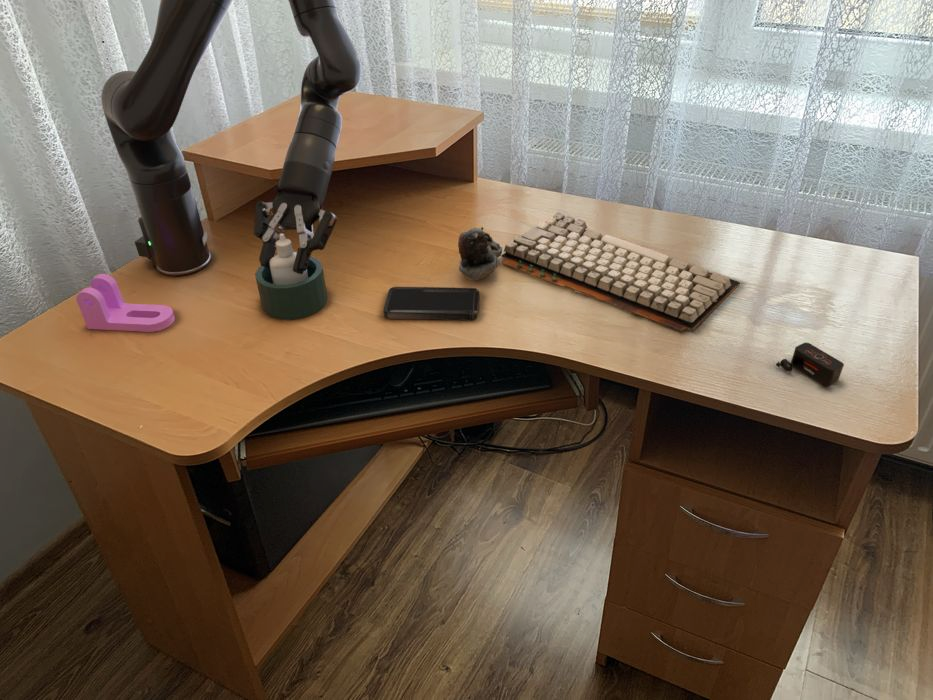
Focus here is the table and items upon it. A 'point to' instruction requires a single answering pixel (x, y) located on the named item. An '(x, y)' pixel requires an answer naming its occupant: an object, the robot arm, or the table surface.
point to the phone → (432, 303)
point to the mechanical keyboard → (618, 272)
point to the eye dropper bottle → (285, 264)
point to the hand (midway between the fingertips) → (281, 269)
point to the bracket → (119, 309)
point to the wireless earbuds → (814, 364)
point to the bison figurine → (477, 253)
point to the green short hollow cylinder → (293, 293)
